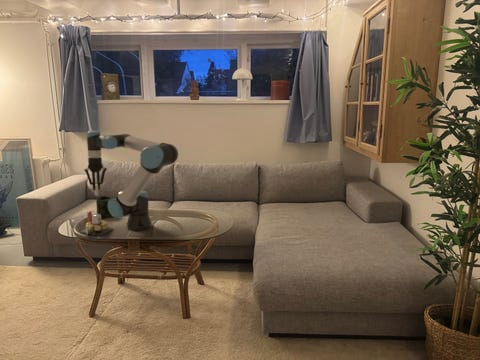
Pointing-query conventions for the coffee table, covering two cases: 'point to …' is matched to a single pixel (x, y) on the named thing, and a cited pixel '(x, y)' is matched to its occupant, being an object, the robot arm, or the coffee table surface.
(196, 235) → the coffee table surface
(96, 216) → the spindle base
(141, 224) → the robot arm
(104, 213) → the mug
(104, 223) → the toothed crank wheel
